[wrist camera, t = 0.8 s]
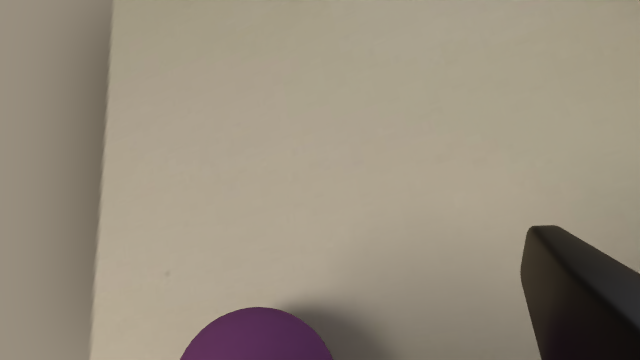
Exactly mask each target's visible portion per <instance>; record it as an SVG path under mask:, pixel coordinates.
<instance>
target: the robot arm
mask: <svg viewBox="0 0 640 360" xmlns="http://www.w3.org/2000/svg"><path fill="white" fill-rule="evenodd" d="M521 282H522V286H523V290H524V294H525V298H526V302H527V306H528V309H529V313H530V317H531V321H532V325H533V329H534V333H535V336H536V340H537V344H538V348H539V352H540V356H541V359H542V360H640V274H639V273H637V272H635V271H634V270H632V269H630V268H628V267H627V266H625V265H623V264H622V263H620V262H618V261H617V260H615V259H613V258H611V257H610V256H608V255H606V254H605V253H603V252H601V251H600V250H598V249H596V248H594V247H593V246H591V245H589V244H588V243H586V242H584V241H583V240H581V239H579V238H577V237H576V236H574V235H572V234H571V233H569V232H567V231H566V230H564V229H562V228H560V227H558V226H554V225H549V226H532V227H531V228H529V230H528V232H527V235H526V241H525V246H524V252H523V257H522V263H521Z"/></svg>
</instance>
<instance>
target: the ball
mask: <svg viewBox="0 0 640 360" xmlns="http://www.w3.org/2000/svg"><path fill="white" fill-rule="evenodd" d="M180 360H333V359H332V357H331V354H330V352H329V350H328V348H327V347H326V345H325V343H324V342H323V341H322V339H321V338H320V337H319V335H318V334H317V333H316V332H315V331H314V330H313V329H312V328H311V327H310V326H309V325H307V324H306V323H305V322H303V321H302V320H301V319H299V318H297V317H295V316H294V315H292V314H289V313H287V312H284V311H281V310H277V309H273V308H263V307H252V308H245V309H240V310H237V311H234V312H231V313H228V314H226V315H224V316H221V317H219V318H217V319H216V320H214V321H213V322H211V323H210V324H209V325H207V326H206V327H205V328H204V329H203V330H201V331H200V333H199V334H198V335H197V336H196V337H195V338H194V339H193V340H192V341H191V343H190V344H189V346H188V347H187V348H186V350H185V352H184V353H183V355H182V357H181V359H180Z"/></svg>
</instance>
